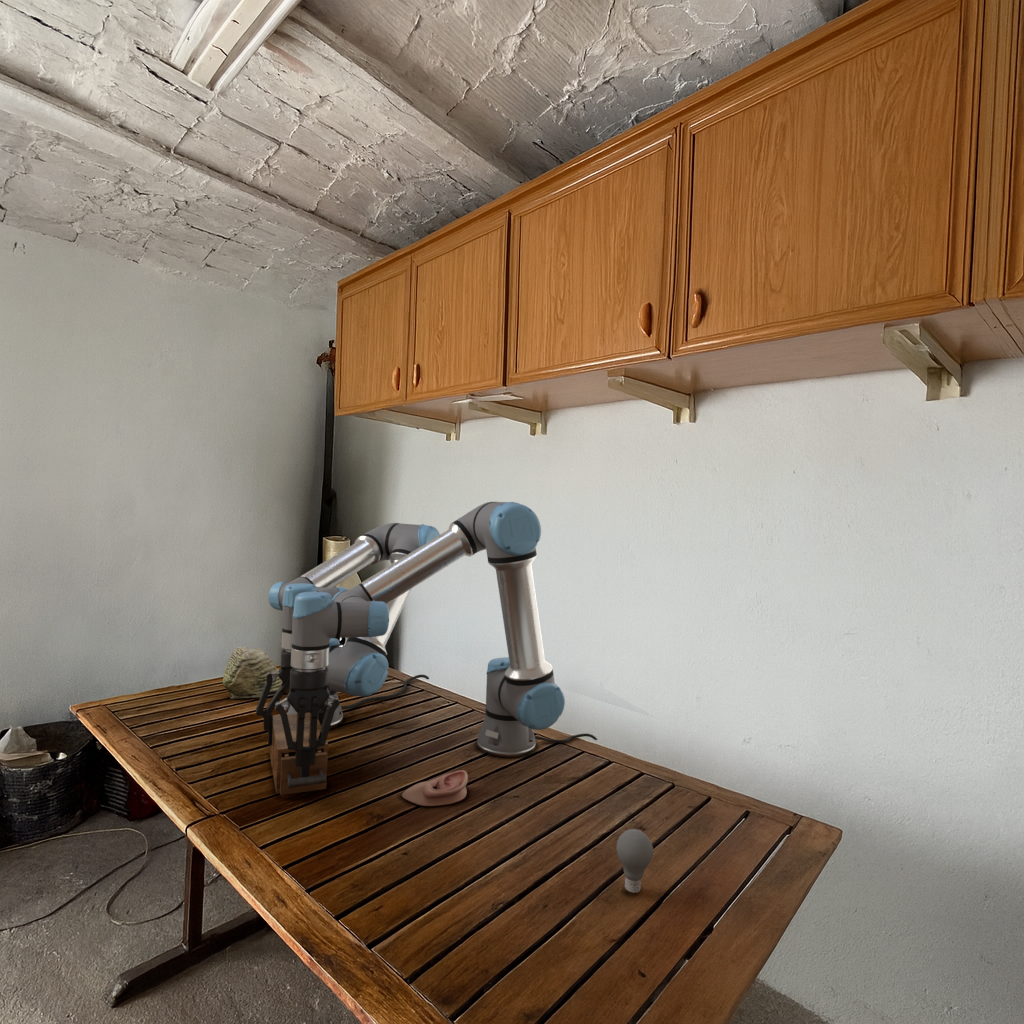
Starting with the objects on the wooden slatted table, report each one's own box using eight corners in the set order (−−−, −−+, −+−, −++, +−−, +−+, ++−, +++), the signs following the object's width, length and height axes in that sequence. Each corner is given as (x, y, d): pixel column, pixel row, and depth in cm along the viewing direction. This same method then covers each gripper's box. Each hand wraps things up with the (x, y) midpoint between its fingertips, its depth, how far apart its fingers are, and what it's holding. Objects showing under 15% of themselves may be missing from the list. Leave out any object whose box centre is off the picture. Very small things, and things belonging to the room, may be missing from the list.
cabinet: (326, 786, 139) (328, 743, 138) (276, 793, 134) (277, 749, 134) (314, 749, 158) (315, 711, 158) (269, 754, 154) (271, 715, 154)
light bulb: (610, 879, 108) (613, 822, 108) (644, 879, 109) (647, 822, 109) (619, 902, 102) (622, 840, 102) (655, 901, 103) (658, 840, 103)
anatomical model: (397, 783, 132) (416, 761, 144) (396, 802, 132) (415, 779, 144) (458, 792, 130) (472, 769, 141) (457, 811, 130) (471, 786, 141)
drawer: (329, 800, 130) (331, 764, 130) (282, 807, 127) (283, 770, 126) (313, 752, 154) (315, 721, 154) (273, 757, 150) (274, 725, 150)
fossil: (218, 695, 195) (220, 647, 195) (278, 685, 208) (279, 640, 207) (228, 703, 189) (230, 653, 188) (289, 692, 201) (290, 645, 201)
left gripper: (246, 655, 143) (243, 752, 144) (349, 649, 153) (345, 740, 153) (245, 647, 150) (242, 740, 151) (344, 642, 160) (340, 729, 160)
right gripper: (277, 674, 125) (271, 793, 125) (344, 670, 130) (339, 784, 131) (274, 664, 132) (269, 777, 132) (338, 661, 137) (333, 769, 137)
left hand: (294, 740), depth 152 cm, fingers closed on cabinet, 10 cm apart
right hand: (304, 780), depth 131 cm, fingers closed
